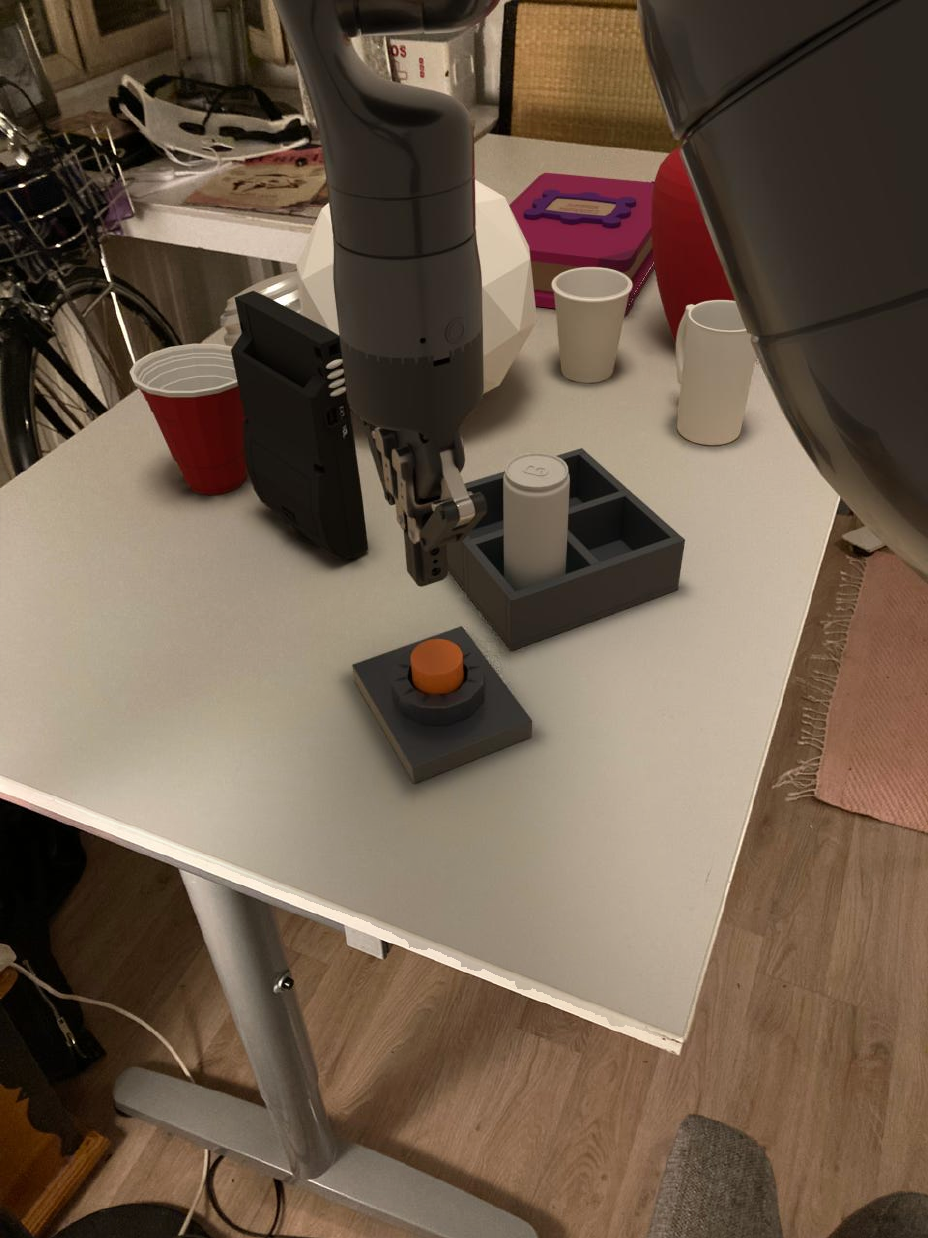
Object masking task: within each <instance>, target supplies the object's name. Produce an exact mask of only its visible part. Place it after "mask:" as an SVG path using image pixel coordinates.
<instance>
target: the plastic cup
mask: <svg viewBox="0 0 928 1238" xmlns="http://www.w3.org/2000/svg"><path fill="white" fill-rule="evenodd" d="M231 349H232V347H231V346H226V344H220V343H188V344H182V345H181V344H180V345H175V346H169V347H165V348H163V349H160V350H156V351H153V352H150V353H148V354H146V355H145V356H142V358H140V359H138V360H136V361H135V362H134V364H133V365H132V367H131V368H130V370H129V374H130V377H131V380H132V382H133V384H134V385H135V387H136V388H137V389H138V390H140V392H141V394H142V395H143V397H144V400H145V402H146V403H147V405H148V407H149V410H150V412H151V413H152V414H153V416H154V419H155V420H156V423H157V425H158V427H159V429H160V432H161V434H162V436H163V438H164V440H165V444H166V445H167V447H168V449H169V452H170V454H171V457H172V458H173V460H174V462H176V465H177V467H178V470H179V471H180V473H181V475H182V477H183V480H184V483H185V484H187V486H188V488H189V489H190V490H191V491H193V492H195V493H197V494H201V495H206V496H209V495H221V494H225V493H228V492H231V491H233V490H235V489H237V488H239V487H240V486H242V484H243V483H244V482H245V481H246V480H247V479H246V478H247V475H248V470H247V467H246V463H245V454H244V445H243V422H244V421H246V416H244V415H243V407H242V402H241V397H240V392H239V387H238V382H237V378H236V373H235V368H234V363H233V358H232V354H231Z"/></svg>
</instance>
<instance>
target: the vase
mask: <svg viewBox="0 0 928 1238" xmlns="http://www.w3.org/2000/svg"><path fill="white" fill-rule="evenodd" d="M681 146H682V145H680V146H679V147H677V148H675V149H673V150H672V151H671V152H670V153H668V155H666V157H665V158H664V159H663V161H661V163H660V164H659V166H658V170H657V172H656V175H655V178H654V189H653V196H652V214H651V226H652V247H653V259H654V266H655V268H654V273H655V279H656V284H657V288H658V292H659V296H660V301H661V304H662V307H663V311H664V314H665V315H664V316H665V318H666V321H667V324H668V327H669V330H670V333H671V336H672V340H673V342H674V344H676V338H677V332H678V328H679V325H680V322H681V320H682V318H683V315H684V313H685V311H686V306H687V305H691V304H693V305H697V304H699V303H702V302H706V301H712V300H730V301H735V299H734V296H733V294H732V291H731V289H730V286H729V283H728V281H727V278H726V275H725V273H724V270H723V267H722V265H721V262H720V260H719V257H718V254H717V252H716V249H715V246H714V244H713V241H712V239H711V236H710V233H709V231H708V228H707V225H706V223H705V220H704V217H703V215H702V212H701V210H700V207H699V204H698V202H697V199H696V196H695V194H694V191H693V188H692V186H691V183H690V181H689V178H688V175H687V173H686V170H685V167H684V165H683V162H682V160H681V157H680V154H679V151H680V148H681Z"/></svg>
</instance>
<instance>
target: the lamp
mask: <svg viewBox="0 0 928 1238" xmlns="http://www.w3.org/2000/svg"><path fill="white" fill-rule="evenodd" d="M475 204H476V236H477V245H478V252H479V258H480V265H481V273H482V314H483V372H484V392H483V395H484V394H486V393H488V392H490V391H491V390H494V389H495V388H497V387H499V386H500V385H501V383H502V382H503V380H504V378H505V377H506V375H507V373H508V372H509V370H510V368H511V366H512V365H513V363H514V361H515V359H516V358H517V356H518V354H519V353H520V351H521V349H523V346H524V345H525V343H526V341H527V339H528V337H529V335H530V334H531V332H532V331H533V328H534V327H535V325H536V324H537V322H538V317H537V309H536V307H537V306H535V297H534V288H533V279H532V269H531V260H530V250H529V246H528V244H527V241H526V239H525V237H524V235H523V233H522V231H521V229H520V227H519V225H518V223H517V221H516V219H515V217H514V215H513V213H512V211H511V209H510V207H509V205H510V204H509V203H508V200H507V198H506V197H505V196H504V195H502V194H500V193H499V192H497V191H495V190H493V189H491V188H490V187H488V186H487V185H485V184H483V183H482V182H480V181H478V180H477V179H475ZM305 242H306V243H305V244H304V246H303V249H302V251H301V252H300V255H299V257H298V259H297V261H296V264H295V266H296V270H293V271H290V272H285V273H281V274H277V275H274V276H272V277H269V278H266V279H264V280H261V281H259V282H257V283H255V284H252V285H251V286H248V287H247V288H245V289H243V290H242V291H240V292H239V293H237V294H235V295H233V296H232V297H230V298H229V299H227V301H226V307H225V309H224V313H223V314H222V315H220V318H219V319H220V321H219V322H220V324H219V325H220V327H223V328H225V331H226V333H225V334H224V335H223V340H224V341H223V342H224V345H225V346H231V347H233V346H234V344H235V343H236V341H237V340H238V338H239V337H240V335H241V334H242V333H241V328H240V323H239V318H238V313H237V308H236V303H235V298H234V297H237V296H240V295H243V294H245V293H248V292H251V291H255V292H258V293H260V294H262V295H264V296H266V297H268V298H270V299H272V300H274V301H276V302H278V303H280V304H282V305H284V306H286V307H287V308H289V309H291V310H293V311H295V312H297V313H299V314H301V315H303V316H305V317H307V318H308V319H310V320H312V321H314V322H316V323H318V324H320V325H322V326H324V327H326V328H328V329H329V330H331V331H333V332H334V333H336V334H337V335H339V327H338V319H337V311H336V302H335V294H334V283H333V259H334V246H333V232H332V224H331V216H330V207H329V202H327V203H326V205H324V206H323V207H322V208H321V209H320V212H319V214H318V216H317V218H316V221H315V223H314V225H313V226H312V229H311V231H310V233H309V235H308V237H307V239H306V241H305Z"/></svg>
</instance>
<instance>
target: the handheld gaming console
mask: <svg viewBox="0 0 928 1238" xmlns="http://www.w3.org/2000/svg"><path fill="white" fill-rule="evenodd" d="M234 298H235V303H236V308H237V313H238V318H239V323H240V328H241V333H242V334H241V335H240V337H239V338H238V340H237V341H236V343H235V344H234V346H233V347H232V349H231V354H232V358H233V363H234V368H235V373H236V378H237V382H238V387H239V392H240V397H241V402H242V407H243V415H244V416H246V421H244V422H243V445H244V454H245V463H246V467H247V475H248V477H249V479H250V482H251V485H252V488H253V490H254V492H255V493H256V495H257V497H258V499H259V500H260V502H261V503H262V504H264V505H265V506H266V507H267V508H269V509H270V510H272V511H273V512H275V513H276V514H277V515H278V516H279V517H280V518H281V519H282V520H283V521H285V522H286V523H287V524H288V525H289V526H290V528H291V530H292V532H293V534H294V535H295V537H297V538H298V539H300V540H301V541H303V542H305V543H308V544H310V545H311V544H312V545H315V546H316V547H319V548H320V549H322V550H323V551H324V552H325V553H327V554H329V555H331V556H333V557H334V558H337V559H340V560H341V561H344V560H348V559H350V558H352V559H354V558H355V557H358V556H359V555H361V554H363V553H365V552H367V551H368V550H369V543H368V534H367V525H366V517H365V516H366V515H365V508H364V500H363V492H362V484H361V477H360V470H359V464H358V456H357V450H356V449H357V448H356V441H355V434H354V427H353V426H354V425H353V419H352V409H351V408H350V406H349V403H348V400H347V394H346V386H345V377H344V369H343V361H342V352H341V344H340V336H339V335H337V334H336V333H334V332H333V331H331V330H329V329H328V328H326V327H324V326H322V325H320V324H318V323H316V322H314V321H312V320H310V319H308V318H307V317H305V316H303V315H301V314H299V313H297V312H295V311H293V310H291V309H289V308H287V307H286V306H284V305H282V304H280V303H278V302H276V301H274V300H272V299H270V298H268V297H266V296H264V295H262V294H260V293H258V292H255V291H251V292H248V293H245V294H243V295H240V296H237V297H234Z"/></svg>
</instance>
